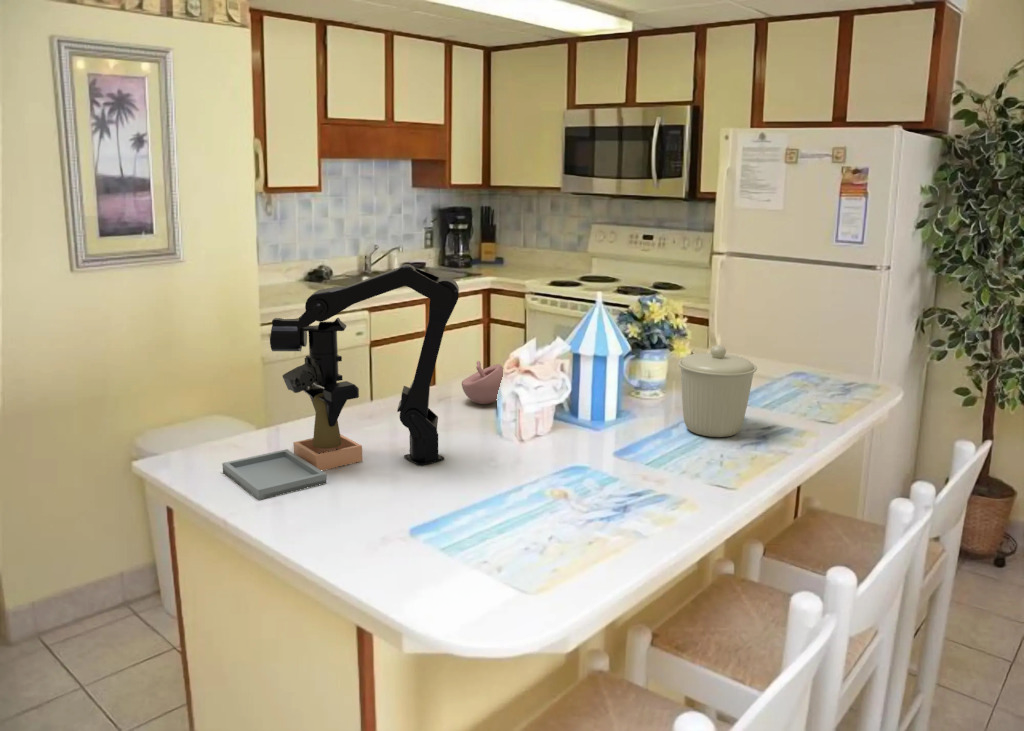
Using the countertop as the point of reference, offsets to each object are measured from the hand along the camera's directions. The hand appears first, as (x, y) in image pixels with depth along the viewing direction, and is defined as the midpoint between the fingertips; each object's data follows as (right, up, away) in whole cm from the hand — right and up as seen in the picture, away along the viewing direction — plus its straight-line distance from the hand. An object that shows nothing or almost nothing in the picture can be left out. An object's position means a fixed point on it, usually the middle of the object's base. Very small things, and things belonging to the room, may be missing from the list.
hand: (326, 423), depth 179 cm
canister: (+87, -4, +25) cm, 91 cm away
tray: (-9, -10, -9) cm, 16 cm away
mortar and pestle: (+32, +2, +45) cm, 55 cm away
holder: (0, -8, +2) cm, 8 cm away
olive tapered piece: (0, -5, +1) cm, 5 cm away
